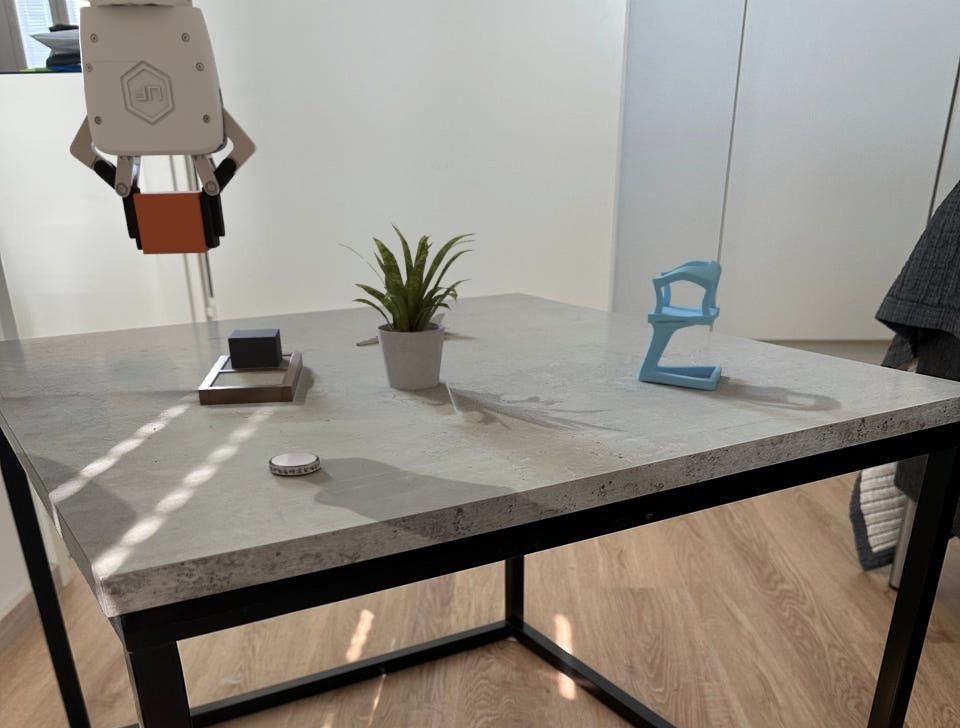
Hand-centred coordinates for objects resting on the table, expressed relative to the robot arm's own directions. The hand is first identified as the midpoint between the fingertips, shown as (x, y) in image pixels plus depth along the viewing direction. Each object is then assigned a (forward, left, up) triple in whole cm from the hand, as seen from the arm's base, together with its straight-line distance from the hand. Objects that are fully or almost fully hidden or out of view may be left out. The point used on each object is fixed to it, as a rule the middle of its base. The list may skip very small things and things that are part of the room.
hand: (179, 245), depth 78 cm
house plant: (+21, +11, -16) cm, 28 cm away
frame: (+3, +14, -15) cm, 21 cm away
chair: (+48, +10, -16) cm, 51 cm away
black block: (+3, +18, -15) cm, 24 cm away
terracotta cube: (0, 0, 0) cm, 0 cm away
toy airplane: (+21, +41, -16) cm, 49 cm away
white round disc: (+9, -15, -15) cm, 23 cm away
